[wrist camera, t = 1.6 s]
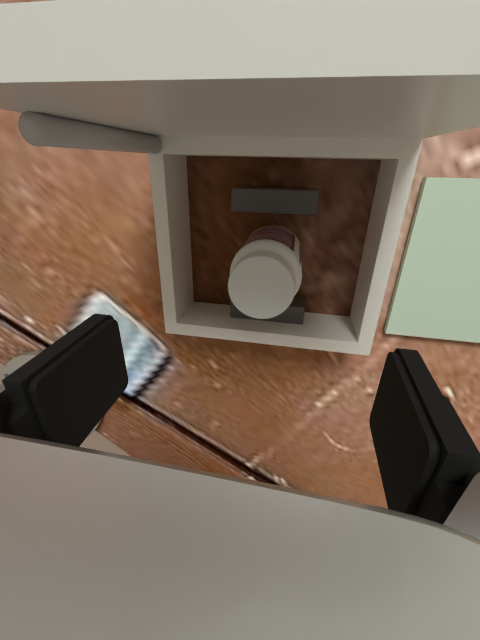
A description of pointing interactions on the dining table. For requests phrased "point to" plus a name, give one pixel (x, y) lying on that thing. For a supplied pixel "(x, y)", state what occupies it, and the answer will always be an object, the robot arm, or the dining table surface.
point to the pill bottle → (266, 272)
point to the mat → (441, 265)
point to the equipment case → (249, 116)
